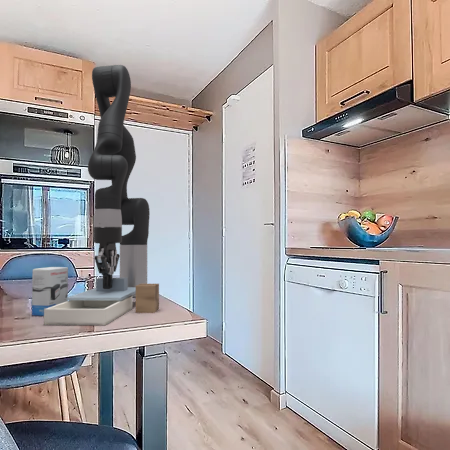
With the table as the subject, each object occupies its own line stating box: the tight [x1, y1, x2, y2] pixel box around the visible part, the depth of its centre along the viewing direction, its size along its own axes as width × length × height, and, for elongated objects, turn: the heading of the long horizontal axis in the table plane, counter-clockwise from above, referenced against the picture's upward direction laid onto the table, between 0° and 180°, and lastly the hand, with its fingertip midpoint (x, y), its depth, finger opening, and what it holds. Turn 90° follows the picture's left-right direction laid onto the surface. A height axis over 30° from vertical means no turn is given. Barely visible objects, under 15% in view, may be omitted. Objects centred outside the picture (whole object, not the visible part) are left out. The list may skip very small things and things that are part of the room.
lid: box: [67, 277, 136, 301], centre depth 104 cm, size 20×14×4 cm
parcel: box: [135, 283, 160, 314], centre depth 100 cm, size 5×5×7 cm
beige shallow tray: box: [43, 296, 134, 326], centre depth 93 cm, size 20×14×4 cm
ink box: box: [31, 266, 69, 317], centre depth 98 cm, size 8×5×12 cm, turn 168°
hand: (107, 288), depth 103 cm, fingers closed
